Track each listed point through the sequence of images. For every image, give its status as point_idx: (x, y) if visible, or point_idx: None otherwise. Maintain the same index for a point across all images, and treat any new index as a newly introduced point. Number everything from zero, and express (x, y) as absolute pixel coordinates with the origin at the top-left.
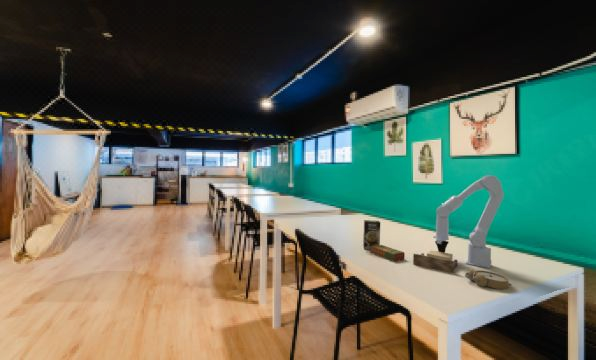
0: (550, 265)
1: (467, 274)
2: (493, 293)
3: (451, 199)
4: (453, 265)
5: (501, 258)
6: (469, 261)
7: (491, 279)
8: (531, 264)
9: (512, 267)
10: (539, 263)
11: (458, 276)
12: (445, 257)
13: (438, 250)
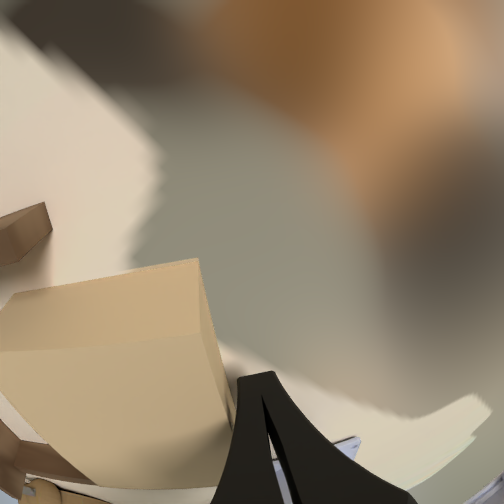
0: (425, 473)
1: (26, 489)
2: None
3: None
4: (21, 480)
5: (455, 429)
6: (277, 477)
7: None
8: (416, 470)
9: None
10: (434, 464)
11: None
12: (85, 471)
13: (235, 427)
